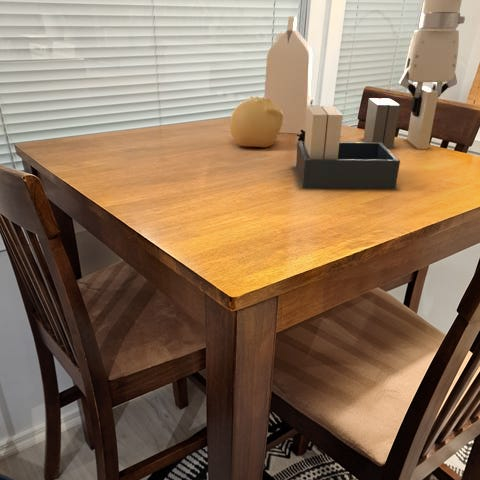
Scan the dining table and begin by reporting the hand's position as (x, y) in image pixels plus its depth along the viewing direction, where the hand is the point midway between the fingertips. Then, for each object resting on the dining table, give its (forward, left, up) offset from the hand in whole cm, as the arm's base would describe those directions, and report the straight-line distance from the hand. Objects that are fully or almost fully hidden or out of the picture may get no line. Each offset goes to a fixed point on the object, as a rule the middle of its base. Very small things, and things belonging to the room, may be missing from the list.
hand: (422, 114), depth 114 cm
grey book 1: (+11, 0, -7) cm, 13 cm away
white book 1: (+28, +28, -6) cm, 40 cm away
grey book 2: (+8, 0, -7) cm, 11 cm away
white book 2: (+26, +28, -6) cm, 38 cm away
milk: (+29, -20, -7) cm, 37 cm away
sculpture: (+38, 0, -7) cm, 39 cm away
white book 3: (0, 0, -7) cm, 7 cm away
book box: (+22, +28, -7) cm, 36 cm away
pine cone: (+23, -1, -7) cm, 25 cm away
